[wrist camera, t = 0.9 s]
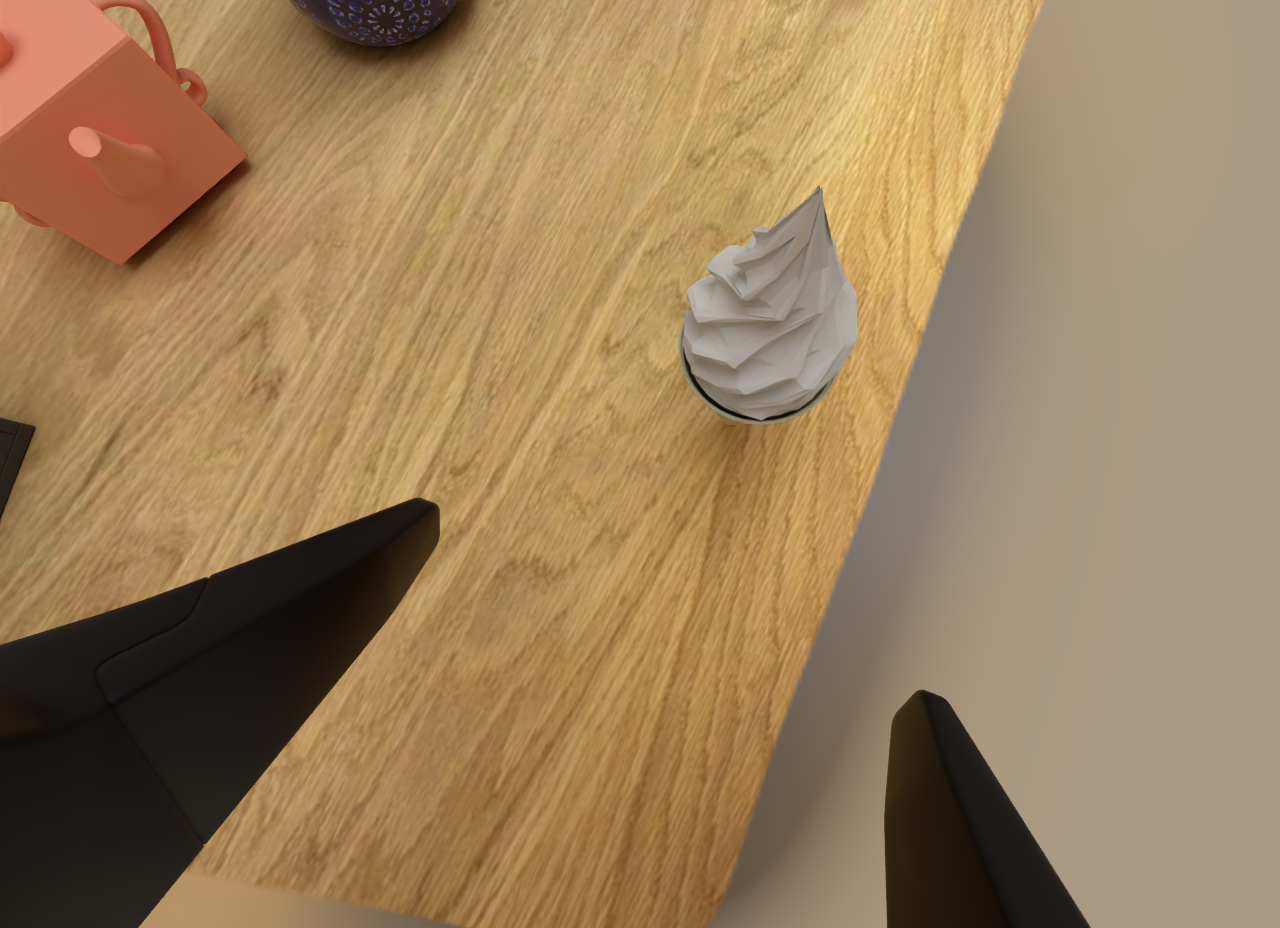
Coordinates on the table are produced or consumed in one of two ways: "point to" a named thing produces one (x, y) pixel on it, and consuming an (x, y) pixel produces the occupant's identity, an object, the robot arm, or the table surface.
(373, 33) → the planter
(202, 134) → the teapot
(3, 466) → the storage bin
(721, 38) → the table surface
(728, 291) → the ice cream cone
